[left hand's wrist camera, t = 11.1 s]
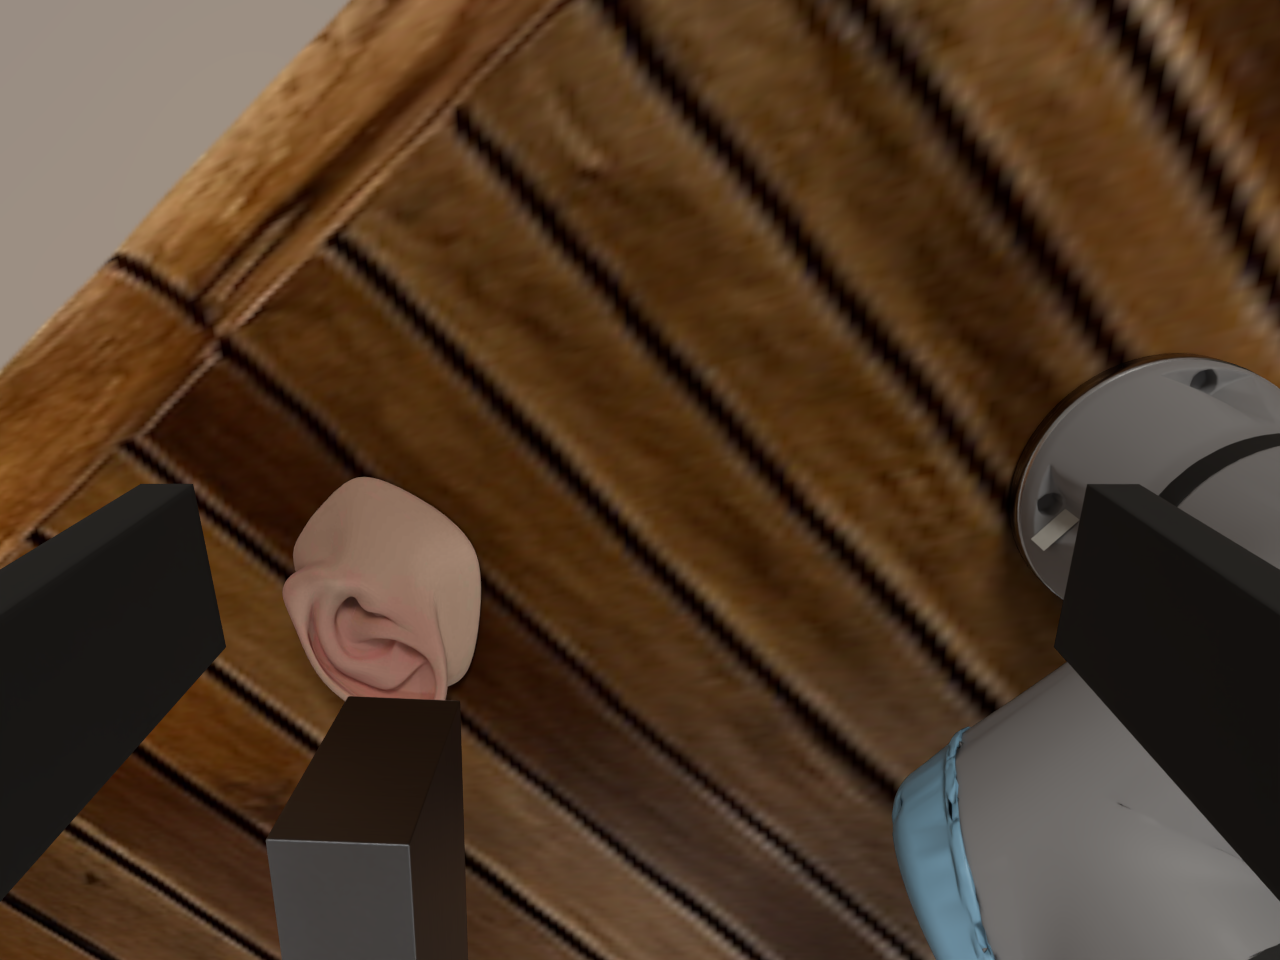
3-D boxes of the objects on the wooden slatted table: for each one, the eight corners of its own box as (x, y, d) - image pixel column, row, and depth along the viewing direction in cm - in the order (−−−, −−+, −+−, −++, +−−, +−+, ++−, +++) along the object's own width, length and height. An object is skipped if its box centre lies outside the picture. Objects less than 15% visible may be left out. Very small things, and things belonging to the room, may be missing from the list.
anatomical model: (283, 483, 41) (502, 547, 43) (312, 458, 45) (513, 517, 46) (244, 694, 46) (444, 746, 47) (274, 655, 49) (458, 704, 51)
